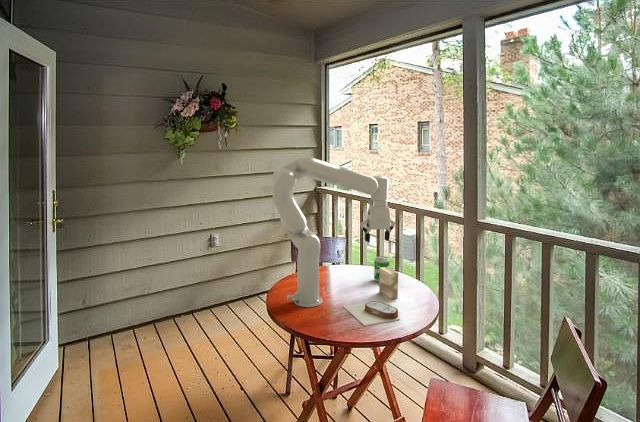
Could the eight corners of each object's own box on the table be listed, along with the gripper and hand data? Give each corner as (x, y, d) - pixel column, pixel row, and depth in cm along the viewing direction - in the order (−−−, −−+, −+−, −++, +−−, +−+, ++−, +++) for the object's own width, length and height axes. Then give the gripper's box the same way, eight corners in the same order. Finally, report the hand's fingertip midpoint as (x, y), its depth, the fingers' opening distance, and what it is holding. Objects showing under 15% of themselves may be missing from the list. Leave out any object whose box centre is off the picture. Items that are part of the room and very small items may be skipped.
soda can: (373, 278, 225) (373, 255, 223) (388, 278, 225) (388, 255, 222) (374, 283, 217) (375, 259, 215) (390, 283, 217) (390, 259, 215)
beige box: (389, 299, 195) (390, 273, 193) (379, 292, 205) (379, 267, 203) (397, 298, 197) (398, 273, 195) (386, 291, 206) (387, 266, 204)
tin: (373, 305, 188) (360, 311, 182) (373, 298, 187) (360, 304, 181) (402, 315, 177) (389, 322, 171) (402, 308, 176) (389, 315, 171)
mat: (364, 326, 168) (364, 324, 168) (343, 307, 187) (343, 306, 187) (399, 320, 174) (399, 318, 174) (375, 302, 192) (375, 301, 192)
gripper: (364, 205, 189) (363, 243, 192) (400, 204, 195) (398, 241, 198) (357, 202, 196) (356, 240, 199) (391, 202, 202) (390, 238, 205)
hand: (377, 240), depth 198 cm, fingers open, 9 cm apart
